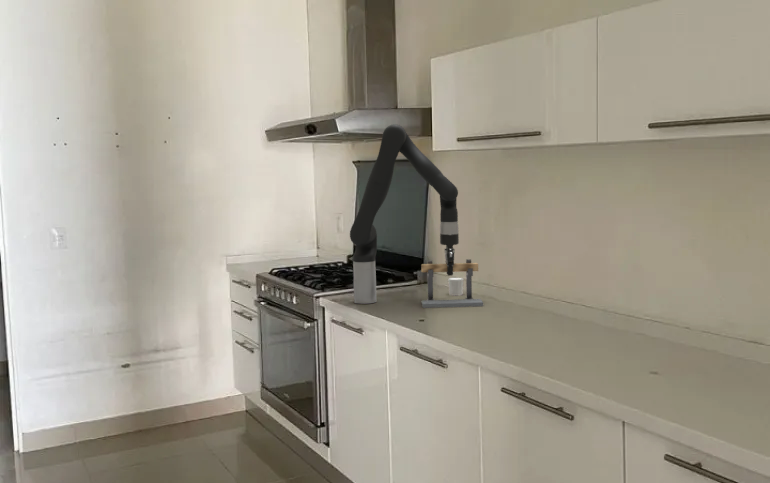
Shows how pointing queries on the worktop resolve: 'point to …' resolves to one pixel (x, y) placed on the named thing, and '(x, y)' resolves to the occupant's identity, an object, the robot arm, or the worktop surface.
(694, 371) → the worktop surface
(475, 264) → the oak rail
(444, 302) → the slate mat
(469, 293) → the charcoal rack
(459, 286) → the beige white-topped cylinder
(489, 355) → the worktop surface
